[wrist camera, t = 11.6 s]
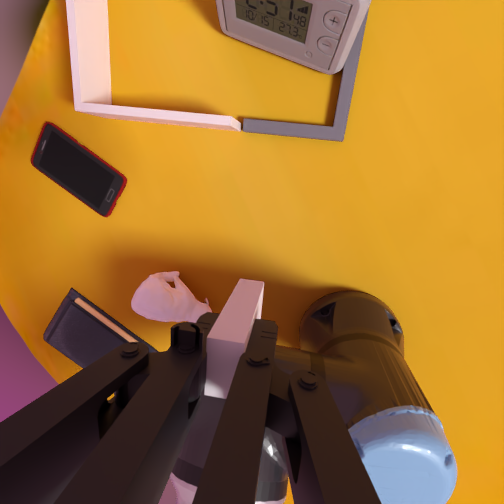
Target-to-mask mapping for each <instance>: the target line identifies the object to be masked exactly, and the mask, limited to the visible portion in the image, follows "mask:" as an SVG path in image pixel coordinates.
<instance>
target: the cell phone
mask: <svg viewBox="0 0 504 504" xmlns="http://www.w3.org/2000/svg"><path fill="white" fill-rule="evenodd" d="M31 163H32V165H33V166H34V167H35V168H36V169H38V170H39V171H40V172H42V173H43V174H44V173H45V174H44V175H46V176H47V177H48V176H49V177H48V178H50V179H51V180H53V181H54V182H55V181H56V182H55V183H57V184H58V185H59V186H61V187H62V188H64V189H65V190H66V191H68V192H69V193H71V194H72V195H73V196H75V197H76V198H77V199H79V200H80V201H82V202H83V203H84V204H86V205H87V206H89V207H90V208H91V209H93V210H94V211H95V212H97V213H98V214H100V215H102V216H104V217H108V216H110V215H111V213H112V211H113V209H114V207H115V205H116V201H117V199H118V197H120V196H121V194H122V192H123V190H124V189H123V188H125V187H124V186H126V183H127V179H126V177H125V176H124V175H123V174H122V173H120V172H119V171H118V170H116V169H115V168H113V167H112V166H111V165H109V164H108V163H107V162H105V161H104V160H103V159H101V158H100V157H99V156H97V155H96V154H94V153H93V152H92V151H90V150H89V149H88V148H86V147H85V146H84V145H81V144H80V143H78V141H77V140H75V139H74V138H73V137H71V136H70V135H69V134H67V133H66V132H65V131H63V130H62V129H60V128H59V127H58V126H56V125H55V124H53V123H50V122H46V123H45V124H44V126H43V128H42V131H41V133H40V136H39V139H38V142H37V144H36V147H35V150H34V152H33V155H32V158H31Z"/></svg>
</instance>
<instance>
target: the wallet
mask: <svg viewBox="0 0 504 504" xmlns="http://www.w3.org/2000/svg"><path fill="white" fill-rule="evenodd" d="M44 340H45V341H46V342H47V343H49V344H50V345H51V346H53V347H54V348H55V349H57V350H58V351H60V352H61V353H62V354H64V355H65V356H67V357H68V358H69V359H71V360H72V361H74V362H75V363H76V364H78V365H79V366H81V367H82V368H83V369H84V368H86V367H87V366H89V365H90V364H92V363H93V362H95V361H96V360H98V359H99V358H101V357H103V356H104V355H106V354H107V353H109V352H110V351H112V350H113V349H115V348H116V347H118V346H120V345H122V344H124V343H129V342H141V343H144V344H146V345H147V346H148V348H149V353H150V352H158V351H157V350H156V349H155V348H153V347H152V346H151V345H149V344H148V343H147V342H145V341H144V340H142V339H141V338H139V337H138V336H137V335H135V334H134V333H133V332H131V331H130V330H128V329H127V328H126V327H124V326H123V325H122V324H120V323H119V322H118V321H116V320H115V319H114V318H112V317H111V316H110V315H108V314H107V313H105V312H104V311H103V310H101V309H100V308H99V307H97V306H96V305H95V304H93V303H92V302H91V301H89V300H88V299H86V298H85V297H84V296H82V295H81V294H80V293H78V292H77V291H76V290H74V289H73V288H71V289H70V291H69V293H68V294H67V296H66V297H65V298H64V300H63V302H62V303H61V305H60V307H59V308H58V310H57V312H56V313H55V315H54V317H53V318H52V320H51V322H50V324H49V325H48V327H47V329H46V331H45V333H44Z"/></svg>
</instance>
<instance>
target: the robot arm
mask: <svg viewBox="0 0 504 504" xmlns="http://www.w3.org/2000/svg"><path fill="white" fill-rule="evenodd" d="M263 290H264V282H262V281H255V280H247V279H240V280H239V281H238V283H237V285H236V287H235V288H234V290H233V292H232V294H231V295H230V297H229V299H228V301H227V303H226V304H225V306H224V308H223V310H222V311H221V313H220V314H218V313H211V312H206V313H204V314H203V315H201V316H200V317H199V318H198V320H197V321H196V323H193V322H183V323H179V324H176V325H174V326H173V327H171V346H170V348H169V349H168V350H167V351H165V352H150V353H149V348H148V346H147V345H146V344H144V343H141V342H129V343H124V344H122V345H120V346H118V347H116V348H115V349H113V350H112V351H110V352H109V353H107V354H106V355H104V356H103V357H101V358H99V359H98V360H96V361H95V362H93V363H92V364H90V365H89V366H87V367H86V368H84V369H82V370H81V371H79V372H78V373H76V374H75V375H73V376H72V377H70V378H68V379H67V380H65V381H64V382H62V383H61V384H59V385H58V386H56V387H55V388H53V389H51V390H50V391H48V392H47V393H45V394H44V395H42V396H41V397H39V398H38V399H36V400H35V401H33V402H31V403H30V404H28V405H27V406H25V407H24V408H22V409H21V410H19V411H17V412H16V413H14V414H13V415H11V416H10V417H9V418H7V419H5V420H4V421H2V422H0V504H158V503H159V500H160V498H161V496H162V493H163V491H164V489H165V486H166V484H167V481H168V479H169V477H170V479H171V481H172V483H173V485H174V488H175V490H176V492H177V500H176V504H283V503H284V501H285V500H286V493H287V484H288V477H289V479H290V485H291V490H292V495H293V500H294V504H446V502H447V501H448V500H449V498H450V496H451V495H452V492H453V490H454V488H455V485H456V480H457V465H456V460H455V457H454V454H453V452H452V450H451V447H450V445H449V443H448V441H447V438H446V436H445V434H444V430H443V426H442V424H441V421H440V420H439V419H438V417H437V416H436V415H435V413H434V411H433V410H432V408H431V406H430V404H429V402H428V401H427V399H426V397H425V395H424V393H423V392H422V390H421V388H420V386H419V385H418V383H417V381H416V379H415V377H414V376H413V374H412V372H411V370H410V368H409V367H408V365H407V363H406V361H405V360H404V336H403V332H402V328H401V326H400V323H399V322H398V320H397V318H396V317H395V315H394V313H393V312H392V311H391V309H390V308H389V307H388V306H387V305H386V304H385V303H384V302H382V301H381V300H379V299H378V298H376V297H374V296H372V295H369V294H366V293H362V292H357V291H341V292H336V293H332V294H329V295H326V296H324V297H322V298H320V299H319V300H317V301H316V302H315V303H313V304H312V305H311V306H310V307H309V308H308V310H307V311H306V312H305V314H304V316H303V318H302V320H301V324H300V329H299V342H300V348H301V349H295V348H290V347H285V346H280V345H276V341H277V332H278V326H277V325H276V323H275V321H269V320H262V319H261V311H262V301H263ZM113 393H114V395H115V396H114V397H113V398H112V399H110V400H108V401H107V398H108V397H109V396H111V395H112V394H113Z"/></svg>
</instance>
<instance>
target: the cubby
mask: <svg viewBox="0 0 504 504" xmlns="http://www.w3.org/2000/svg"><path fill="white" fill-rule="evenodd" d="M66 8H67V20H68V32H69V45H70V57H71V69H72V82H73V94H74V106H75V111H79V112H83V113H87V114H91V115H95V116H99V117H104V118H110V119H120V120H130V121H140V122H150V123H160V124H170V125H180V126H190V127H200V128H210V129H220V130H230V131H240V132H241V123H240V122H239V121H237V120H236V119H234V118H233V117H232V116H222V115H212V114H201V113H190V112H179V111H169V110H158V109H147V108H136V107H126V106H115V105H112V98H111V75H110V53H109V30H108V7H107V0H66Z"/></svg>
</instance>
